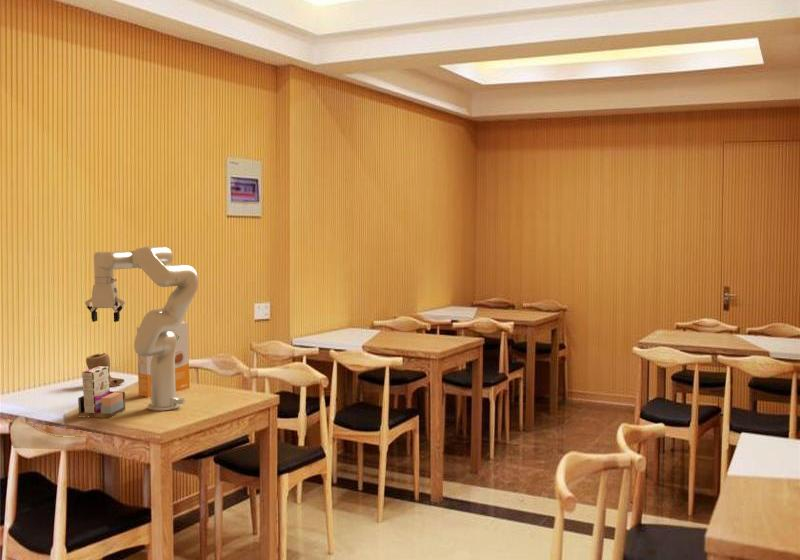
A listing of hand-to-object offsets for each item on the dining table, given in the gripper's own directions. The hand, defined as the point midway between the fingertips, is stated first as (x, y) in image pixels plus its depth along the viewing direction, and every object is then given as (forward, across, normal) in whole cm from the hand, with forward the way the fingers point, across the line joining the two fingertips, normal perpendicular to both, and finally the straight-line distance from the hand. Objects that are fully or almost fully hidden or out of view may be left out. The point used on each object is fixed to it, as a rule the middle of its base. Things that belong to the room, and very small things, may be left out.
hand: (105, 321), depth 324 cm
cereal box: (+34, -18, -16) cm, 41 cm away
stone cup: (+34, +16, -26) cm, 45 cm away
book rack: (+33, -10, +24) cm, 42 cm away
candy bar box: (+32, -8, +25) cm, 41 cm away
